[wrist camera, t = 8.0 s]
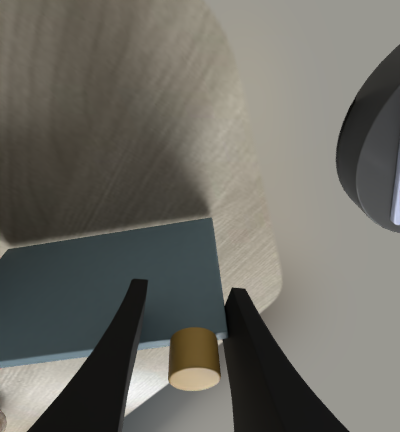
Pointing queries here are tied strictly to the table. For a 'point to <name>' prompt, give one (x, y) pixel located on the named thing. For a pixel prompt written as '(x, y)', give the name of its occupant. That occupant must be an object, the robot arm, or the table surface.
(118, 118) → the table surface
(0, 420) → the planter
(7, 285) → the blue cabinet door
